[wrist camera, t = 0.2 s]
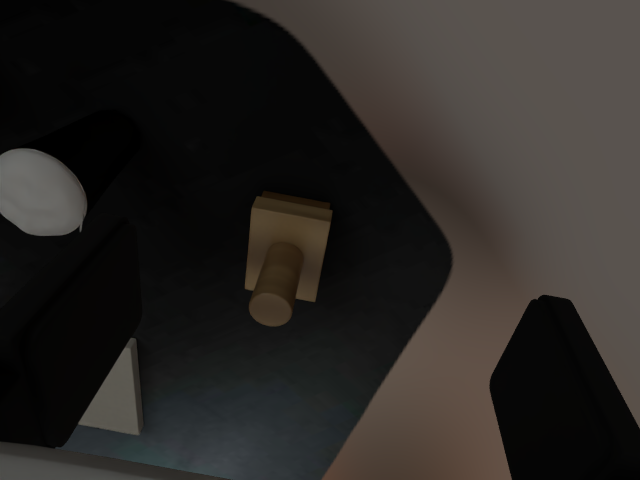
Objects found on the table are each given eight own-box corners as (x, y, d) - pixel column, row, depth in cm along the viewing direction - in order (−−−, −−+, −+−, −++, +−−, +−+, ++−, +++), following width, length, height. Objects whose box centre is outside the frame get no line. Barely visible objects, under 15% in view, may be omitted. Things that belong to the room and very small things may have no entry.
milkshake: (150, 186, 31) (66, 280, 23) (71, 144, 30) (-46, 226, 22) (174, 131, 29) (91, 212, 20) (90, 82, 28) (-34, 148, 19)
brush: (260, 186, 30) (229, 255, 24) (334, 200, 30) (322, 273, 24) (253, 265, 34) (224, 343, 27) (319, 277, 34) (305, 358, 27)
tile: (42, 320, 39) (33, 330, 38) (136, 338, 39) (130, 348, 38) (63, 409, 46) (56, 420, 45) (144, 425, 46) (138, 436, 45)
